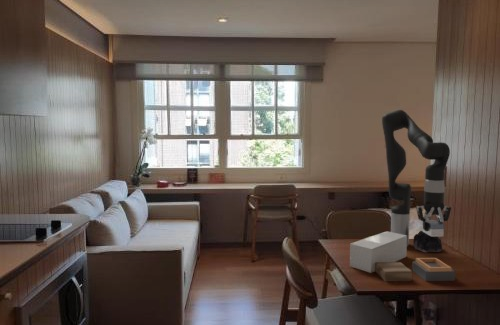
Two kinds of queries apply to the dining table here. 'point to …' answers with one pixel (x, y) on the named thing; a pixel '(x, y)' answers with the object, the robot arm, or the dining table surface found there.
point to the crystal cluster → (427, 243)
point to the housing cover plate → (435, 224)
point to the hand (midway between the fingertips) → (432, 230)
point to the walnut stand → (393, 271)
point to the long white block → (377, 250)
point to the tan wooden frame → (433, 269)
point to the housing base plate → (434, 232)
